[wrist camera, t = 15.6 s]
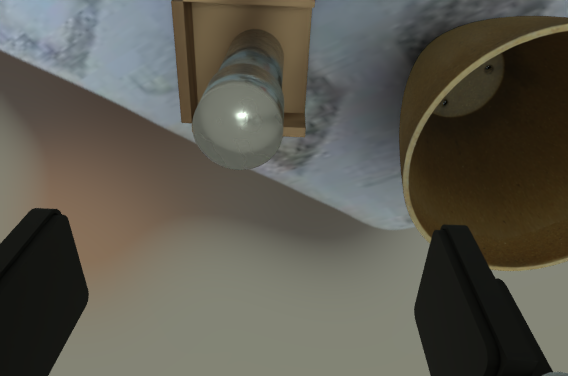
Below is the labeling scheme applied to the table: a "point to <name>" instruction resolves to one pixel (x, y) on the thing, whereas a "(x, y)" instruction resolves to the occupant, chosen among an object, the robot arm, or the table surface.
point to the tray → (220, 34)
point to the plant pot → (491, 139)
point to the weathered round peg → (243, 104)
